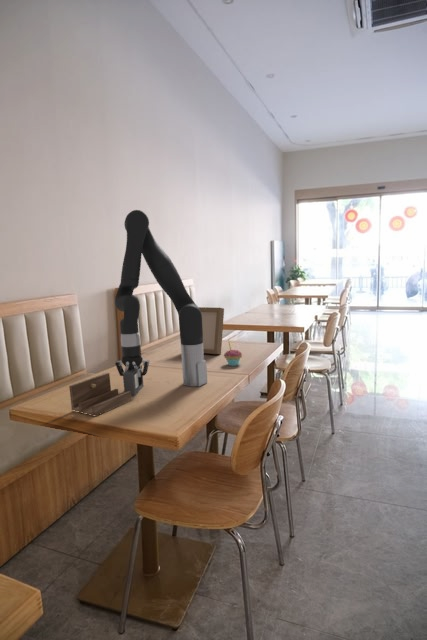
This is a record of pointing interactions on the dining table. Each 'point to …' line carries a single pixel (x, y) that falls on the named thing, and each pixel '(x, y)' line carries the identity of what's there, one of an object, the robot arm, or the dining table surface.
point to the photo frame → (212, 329)
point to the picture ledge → (96, 395)
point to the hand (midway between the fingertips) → (134, 385)
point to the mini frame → (131, 381)
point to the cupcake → (233, 356)
